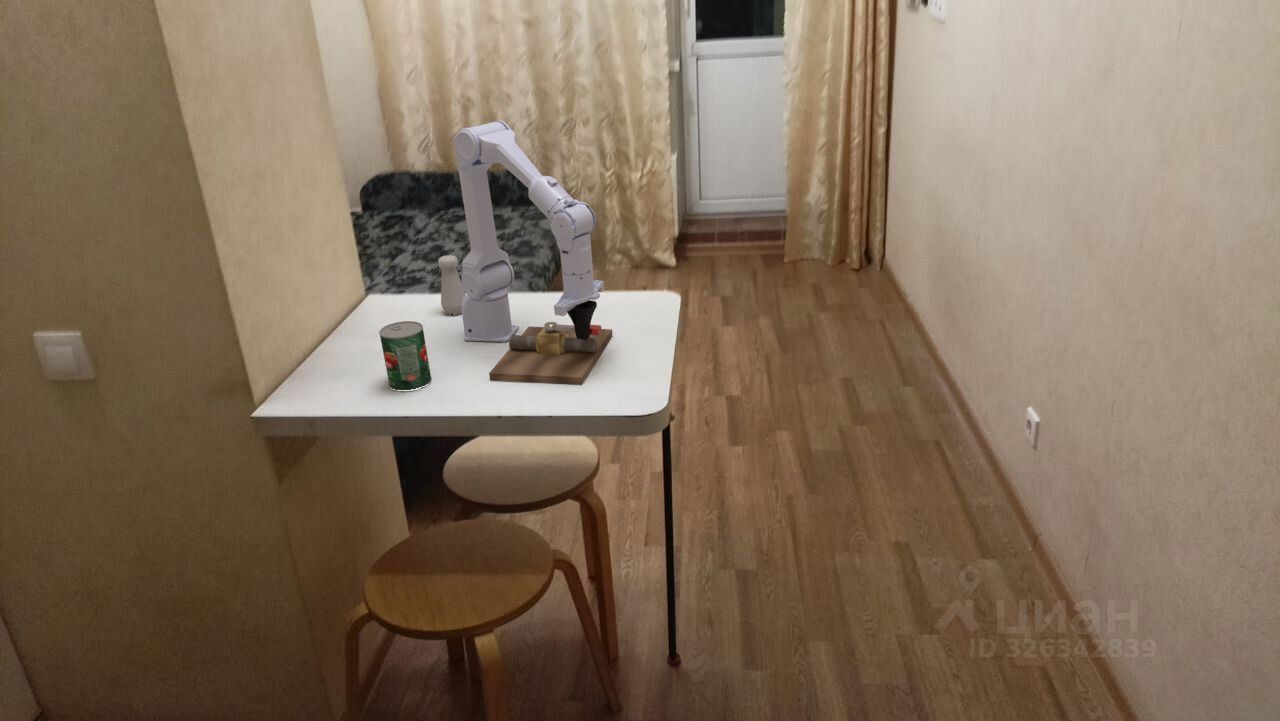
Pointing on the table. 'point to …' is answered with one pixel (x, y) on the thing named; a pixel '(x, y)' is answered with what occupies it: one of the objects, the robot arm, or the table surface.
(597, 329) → the valve lever
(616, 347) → the table surface
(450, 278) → the salt shaker
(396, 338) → the canned tomato
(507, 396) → the table surface
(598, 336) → the valve board
